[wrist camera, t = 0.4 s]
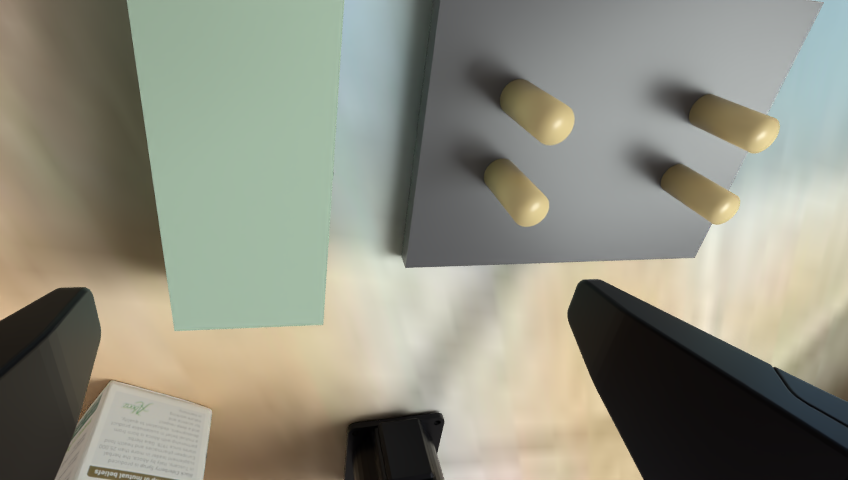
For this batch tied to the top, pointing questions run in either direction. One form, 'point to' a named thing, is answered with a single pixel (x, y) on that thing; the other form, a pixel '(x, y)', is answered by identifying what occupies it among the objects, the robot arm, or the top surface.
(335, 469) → the top surface
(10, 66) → the top surface
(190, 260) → the board
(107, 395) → the syrup box
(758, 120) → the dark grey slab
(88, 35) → the top surface
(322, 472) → the top surface
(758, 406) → the robot arm
